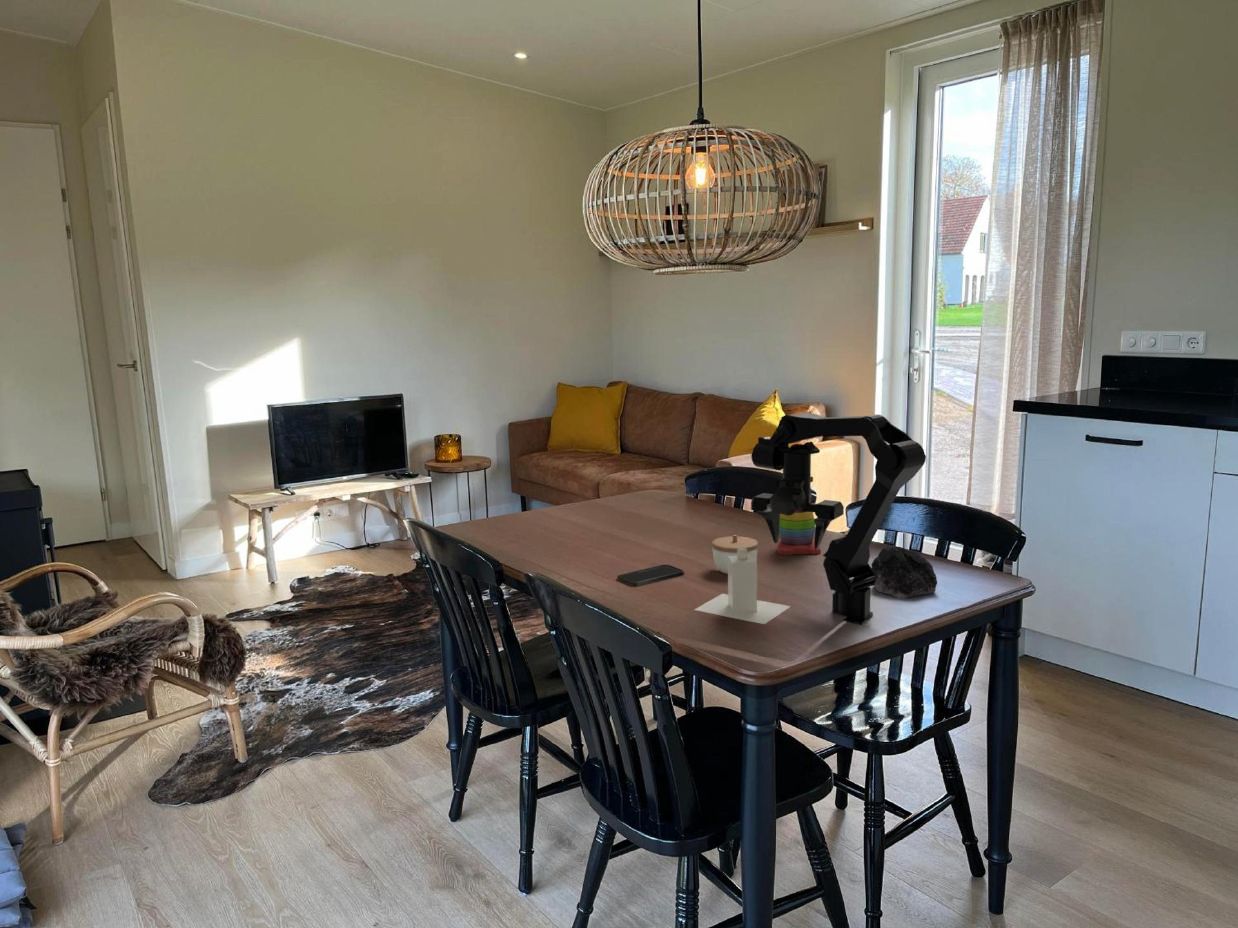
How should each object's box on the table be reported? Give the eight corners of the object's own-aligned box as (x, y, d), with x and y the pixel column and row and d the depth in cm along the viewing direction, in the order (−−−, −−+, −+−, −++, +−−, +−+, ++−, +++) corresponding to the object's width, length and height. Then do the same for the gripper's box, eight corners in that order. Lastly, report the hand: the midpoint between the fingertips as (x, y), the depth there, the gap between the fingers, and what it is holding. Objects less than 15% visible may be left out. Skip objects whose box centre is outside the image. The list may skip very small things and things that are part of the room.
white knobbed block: (751, 603, 180) (751, 545, 178) (757, 611, 175) (756, 552, 173) (728, 604, 180) (727, 546, 178) (732, 612, 175) (732, 553, 173)
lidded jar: (703, 575, 204) (702, 536, 202) (728, 564, 212) (728, 527, 210) (741, 583, 197) (741, 543, 195) (766, 572, 205) (766, 533, 203)
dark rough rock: (945, 601, 183) (949, 555, 182) (882, 598, 183) (886, 552, 182) (922, 587, 196) (926, 544, 196) (863, 584, 196) (867, 540, 195)
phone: (686, 571, 205) (634, 583, 197) (686, 575, 205) (634, 588, 197) (666, 563, 211) (615, 575, 203) (666, 568, 211) (615, 579, 203)
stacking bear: (780, 555, 218) (780, 487, 215) (772, 545, 228) (772, 479, 225) (822, 554, 218) (823, 485, 215) (812, 543, 228) (813, 477, 225)
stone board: (790, 610, 178) (790, 606, 178) (764, 628, 169) (764, 624, 168) (722, 597, 187) (722, 593, 187) (694, 614, 178) (694, 609, 178)
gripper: (738, 475, 179) (738, 548, 182) (823, 484, 168) (822, 561, 171) (762, 467, 188) (762, 536, 191) (845, 474, 177) (843, 548, 180)
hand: (796, 545), depth 183 cm, fingers open, 9 cm apart
